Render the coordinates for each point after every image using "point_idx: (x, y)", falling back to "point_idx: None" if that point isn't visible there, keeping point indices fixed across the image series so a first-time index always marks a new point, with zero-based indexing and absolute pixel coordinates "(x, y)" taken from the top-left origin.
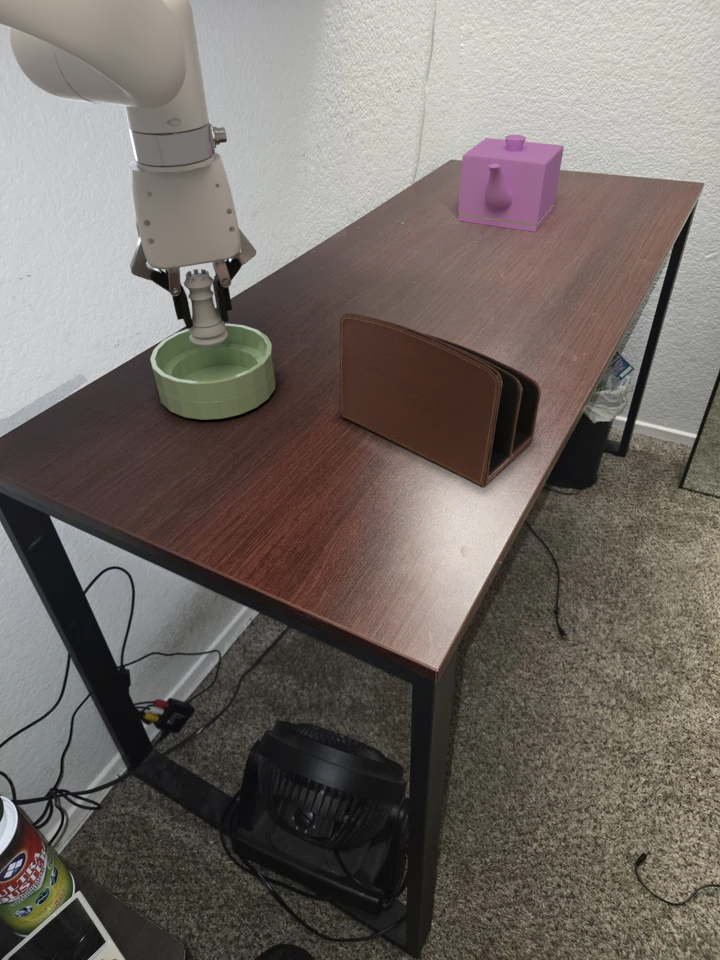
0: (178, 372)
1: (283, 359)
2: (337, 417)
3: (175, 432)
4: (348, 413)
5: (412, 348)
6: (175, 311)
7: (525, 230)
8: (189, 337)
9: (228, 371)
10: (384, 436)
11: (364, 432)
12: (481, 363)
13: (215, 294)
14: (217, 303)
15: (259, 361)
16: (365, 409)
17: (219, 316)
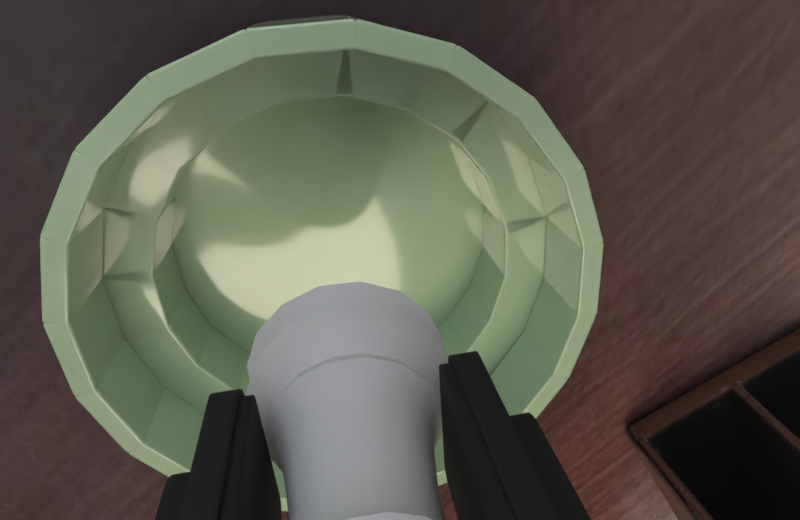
0: (178, 183)
1: (600, 81)
2: (616, 420)
3: None
4: (645, 462)
5: None
6: (166, 487)
7: None
8: (248, 371)
9: (382, 148)
10: (672, 509)
11: (643, 474)
12: None
13: (476, 504)
14: (461, 470)
15: (513, 260)
16: (685, 518)
17: (439, 413)
